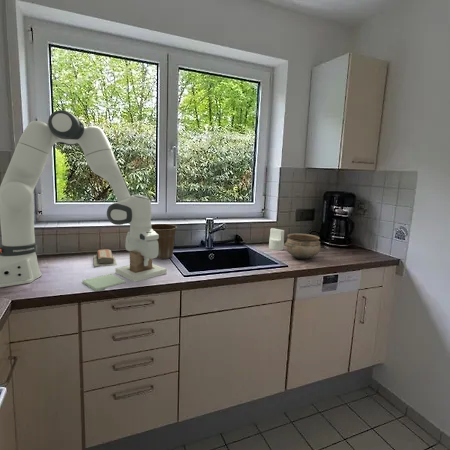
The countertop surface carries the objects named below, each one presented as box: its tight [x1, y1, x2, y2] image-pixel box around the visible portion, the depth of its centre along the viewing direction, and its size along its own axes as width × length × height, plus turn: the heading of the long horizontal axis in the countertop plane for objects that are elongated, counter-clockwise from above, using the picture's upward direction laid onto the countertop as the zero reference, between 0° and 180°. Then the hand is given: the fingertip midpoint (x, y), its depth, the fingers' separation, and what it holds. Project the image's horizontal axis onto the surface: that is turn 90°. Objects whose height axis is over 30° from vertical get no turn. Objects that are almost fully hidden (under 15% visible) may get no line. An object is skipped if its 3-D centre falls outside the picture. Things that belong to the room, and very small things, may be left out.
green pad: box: [81, 273, 127, 292], centre depth 125 cm, size 12×12×1 cm
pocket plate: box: [114, 263, 167, 282], centre depth 138 cm, size 16×15×2 cm
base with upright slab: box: [268, 227, 285, 251], centre depth 195 cm, size 9×9×12 cm
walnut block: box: [129, 251, 153, 273], centre depth 137 cm, size 8×5×10 cm, turn 138°
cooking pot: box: [284, 232, 321, 261], centre depth 174 cm, size 25×19×12 cm
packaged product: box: [93, 248, 118, 269], centre depth 154 cm, size 18×5×10 cm
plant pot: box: [151, 223, 178, 260], centre depth 166 cm, size 16×16×16 cm
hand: (141, 264), depth 137 cm, fingers closed on walnut block, 5 cm apart
